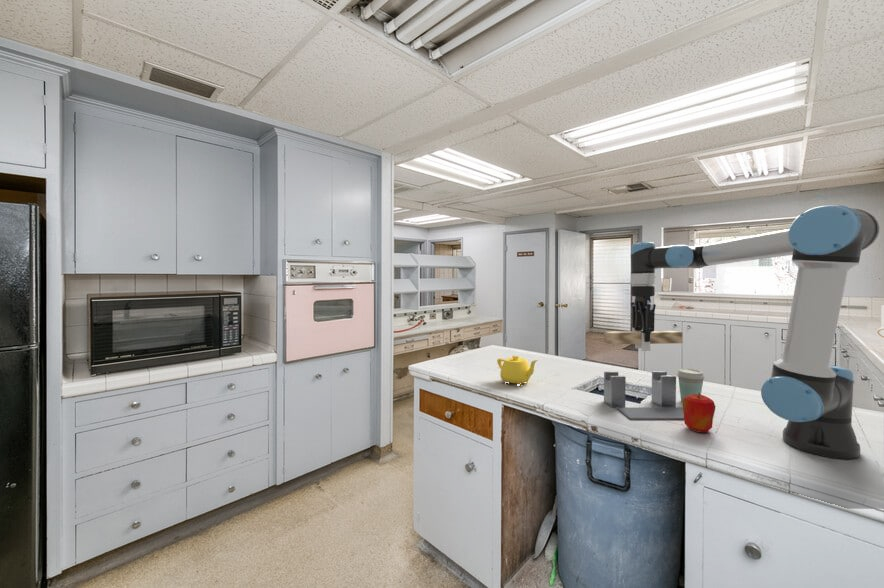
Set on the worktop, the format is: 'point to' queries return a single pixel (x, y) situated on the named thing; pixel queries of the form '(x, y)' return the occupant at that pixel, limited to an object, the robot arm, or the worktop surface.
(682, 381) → the coffee cup
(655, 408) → the mat
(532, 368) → the teapot
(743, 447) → the worktop surface
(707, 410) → the apple
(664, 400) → the rack
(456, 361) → the worktop surface
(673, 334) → the rail
